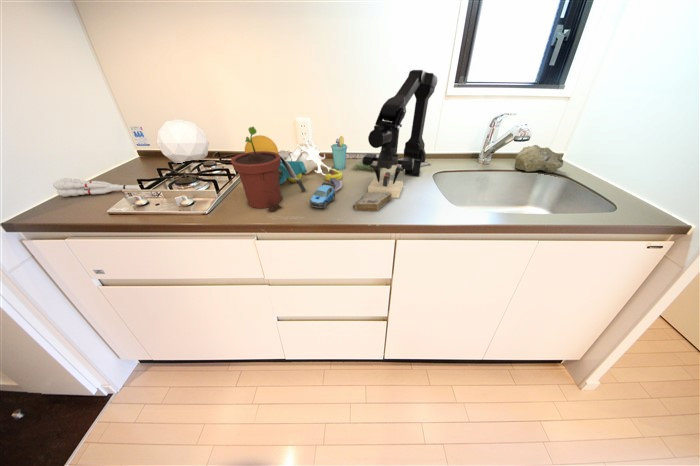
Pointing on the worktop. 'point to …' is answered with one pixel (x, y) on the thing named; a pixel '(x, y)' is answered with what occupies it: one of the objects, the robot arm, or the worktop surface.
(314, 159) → the white branched figurine
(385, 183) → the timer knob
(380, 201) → the stone
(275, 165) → the potted plant
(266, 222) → the worktop surface
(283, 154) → the seashell
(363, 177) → the worktop surface
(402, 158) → the napkin holder
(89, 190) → the rocket model
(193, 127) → the geometric form
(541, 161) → the rock
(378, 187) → the panel
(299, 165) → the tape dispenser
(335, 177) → the knife
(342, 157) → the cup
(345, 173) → the worktop surface
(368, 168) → the box
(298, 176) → the fruit
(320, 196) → the toy car
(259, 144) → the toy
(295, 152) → the white small pieces
